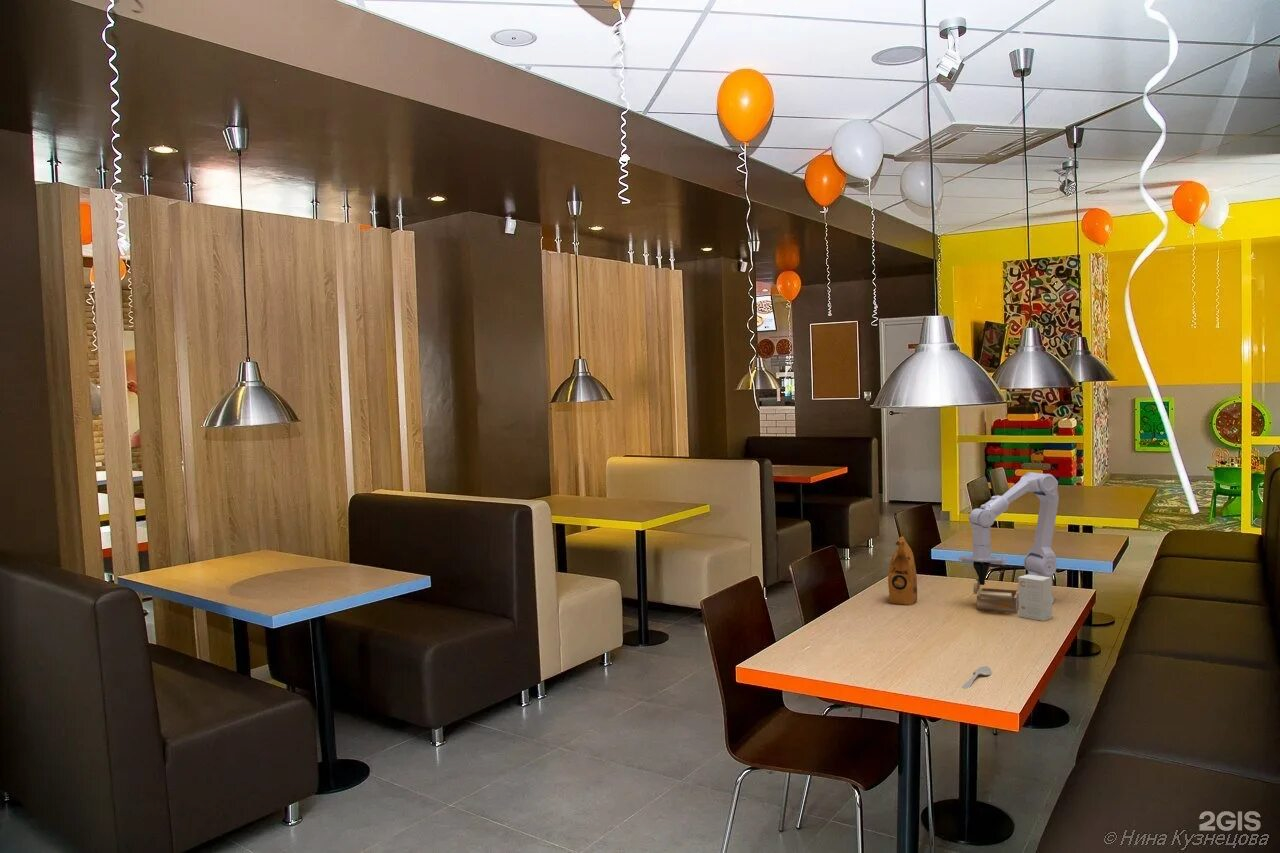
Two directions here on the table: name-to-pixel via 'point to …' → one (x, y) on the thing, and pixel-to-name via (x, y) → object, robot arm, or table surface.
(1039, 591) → the small box
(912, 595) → the coffee package
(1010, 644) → the table surface
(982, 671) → the spoon
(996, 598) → the front flap
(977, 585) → the side flap
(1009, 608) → the carton
